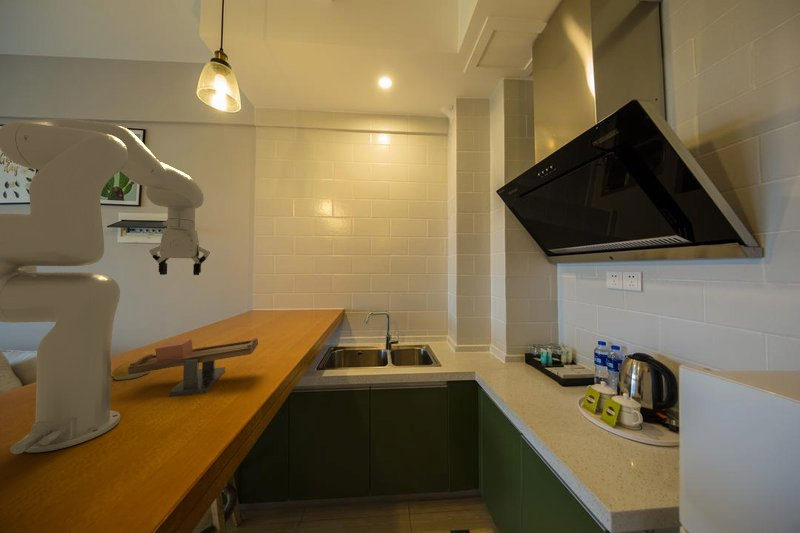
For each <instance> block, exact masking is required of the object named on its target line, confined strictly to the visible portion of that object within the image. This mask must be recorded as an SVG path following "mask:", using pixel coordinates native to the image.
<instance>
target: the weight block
mask: <svg viewBox="0 0 800 533" xmlns="http://www.w3.org/2000/svg"><path fill="white" fill-rule="evenodd" d="M192 340H193V339H192V338H189V339H183V340H176V341H175V340H174V341H169V342H166V343H163V344H161V345H159V346H158V347H155V348H154V350H155V355H156V360H157V362H160V361H166V360H173V359H179V358H185V357H187V356H189V355H190V354H192V353H193V349H194V348H193V341H192Z"/></svg>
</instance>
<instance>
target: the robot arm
mask: <svg viewBox="0 0 800 533" xmlns="http://www.w3.org/2000/svg"><path fill="white" fill-rule="evenodd" d="M0 151H1V152H2V153H3V154H4V156H5V157H7V158H8V159H9V160H10V161H12V162H14V163H15V164H17V165H19V166H21V167H22V168H23V167H24V168H27V169H31V170H37V172H35V173H34V175H33V177H32V178H31V181H30V183H29V187H28V195H29V196H28V197H29V209H30V211H29V213H30V214H23V213H22V214H21V213H0V323H12V324H13V323H18V324H19V323H47V322H48V323H55V325H54V326H53V327H52V328H51V329H50V330H49V331H48V332H47V334H45V336H43V338H42V340H40V342H39V344H38V346H37V351H36V379H35V380H36V384H35V385H36V387H35V416H34V418H35V420H34V422H35V423H33V424H31V431H30V432H29V433H28V434H26V435H24V437H23V438H22V439H20V440H19V441H17V442H15V443H14V444H12V445H11V446H10V448H9V452H10V453H11V454H13V455H20V454H22V453H24V452H25V453H36V454H37V453H45V452H50V451H51V452H53V451H55V450H62V449H64V448H69V447H73V446H75V445H78V444H81V443H83V442H87V441H90V440H92V439H94V438H96V437H99V436H101V435H103V434H105V433H107V432H108V431H111V430H112V429H113V428H114V427H115V426H117V425H118V424H119V423H120V421H121V414H120V412H119V411H117V410H111V390H112V388H111V386H112V385H111V384H112V379H111V378H112V354H113V353H112V350H113V349H112V348H113V345H112V344H113V331H114V330H113V328H114V321H115V317H116V316H115V315H116V312H117V308H118V305H119V302H120V297H121V289H120V286H119V284H118V282H117V281H116V280H114V279H113V278H112V277H110V276H108V275H104V274H101V273H97V272H84V271H83V272H80V271H79V272H77V271H76V272H71V271H68V272H67V271H66V272H64V271H63V272H62V271H59V272H58V271H57V272H56V271H55V272H53V271H51V272H49V271H48V272H44V271H42V272H40V271H38V269H37V268H38V267H82V266H83V267H84V266H91V265H93V264H96V263H98V262H99V261H100V260H102V258H103V257H104V255H105V254H104V253H105V238H104V228H103V218H102V209H101V203H102V202H101V198H102V191H103V190H104V188H105V186H106V185H107V184H108V182H109V181H110V180H111V179H112V178H113V177H115V176H116V174H118V173H120V172H121V173H122V174H123V175H124V176H125V177H126V178H128V179H129V180H130V181H131V182H133V183H135V184H137V185H140V186H142V187H146V188H145V195H146V198H147V199H148V200H149V202H150V203H152V204H154V205H155V206H158V207H162V208H167V219H166V220H165V221H162V225H163V226H166V227H165V228H163V231H162V235H161V238H160V245H159V246H156V247H153V248H151V249H150V250H149V253H150V255H151V256H152V259H154V260H155V261H156V263H158V273H159V275H161V276H162V275H163V276H165V275H167V274H168V263H167V261H168V260H169V259H170V258H172V259H192V261H193V262H194V264H193V274H192V275H193V276H199V275H200V274H201V272H202V264H203V262H205V261H206V260H207V259H208V258H209V255H210V254H211V251H208V250H206V249H205V248H202V247H200V241H199V240H200V239H199V234H198V231H197V230H195V229H196V209H198V208H200V207H201V206H203V203H204V194H203V191H202V189H201V188H200V186H199V184H198V183H197V182H196V181H195V179H194V178H193V177H191V176H190V175H188V174H186V173H184V172H183V171H181V170H179V169H176V168H175V167H172V166H170V165H168V164H165V163H164V162H161V161H160V160H158V158H157V157H156V156H155V155H154V154H153V152H151V150H150V149H149V148H148V147H147V146H146V145H145V144H144V142H142V141H141V139H140V138H139V137H138V136H137V135H135V133H134V132H132V131H131V130H129V129H128V128H126V127H124V126H121V125H117V124H113V123H105V122H101V121H100V122H98V121H91V120H85V119H83V120H82V119H76V118H47V119H26V120H24V119H23V120H14V121H10V122H7V123H5V124H3V125H1V127H0ZM158 252H159V254H158ZM200 253H202V256H201V257H200Z"/></svg>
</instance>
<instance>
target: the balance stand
mask: <svg viewBox="0 0 800 533" xmlns="http://www.w3.org/2000/svg"><path fill="white" fill-rule="evenodd" d="M215 362H216V360H213V361H207V362H201V363H202V365H201V368H200V369H199V364H200V363H199V359H192V360H185V361H184V365H183V372H182V373H183V375H182V376H183V378H182V379H183V380H181V382H178V384H176V385H175V387H173V388H172V389H171V390H170V391H169V392H168V397H170V398H171V397H179V396H180V397H181V396H189V395H190V396H191V395H198V394H206V393H207V392H208V391H209V390H210V389H211V388H212V386H213V385H214V384H215V383H216V382H217V381H218V380H219V379H220V378H221V377H222V375H223V374H224V373H225V371H226V367H225V366H224V367H216V365H215V364H216V363H215Z"/></svg>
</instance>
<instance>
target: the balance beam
mask: <svg viewBox="0 0 800 533" xmlns="http://www.w3.org/2000/svg"><path fill="white" fill-rule="evenodd" d="M258 346H259V340H258V338H257V337H256V338H255V337H254V338H251V339H250V340H249V339H248V340H242V341H237V342H236V341H235V342H231V343H224V344H217V345H211V346H210V345H209V346H203V347H197V348H193V353H192V354H190V355H189V356H187V357H185V358H179V359H173V360H166V361H160V362H157V360H156V354H153V353H150V354H147V355H144V356H143V357H141V358H139V359H137V361H135V362H133V363H131V364H130V367H128V373H129V374H135V373H141V372H147V371H150V372H153V371H159V370H163V369H170V368H176V367H181V366H182V367H184V361H185V360H192V359H199V364H201V363H202V362H207V361H213V360H215V361H217V360H223V359H230V358H231V359H232V358H236V357H242V356H248V355H252V354H253V352H254V351H255V350H256V348H257V347H258Z"/></svg>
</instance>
